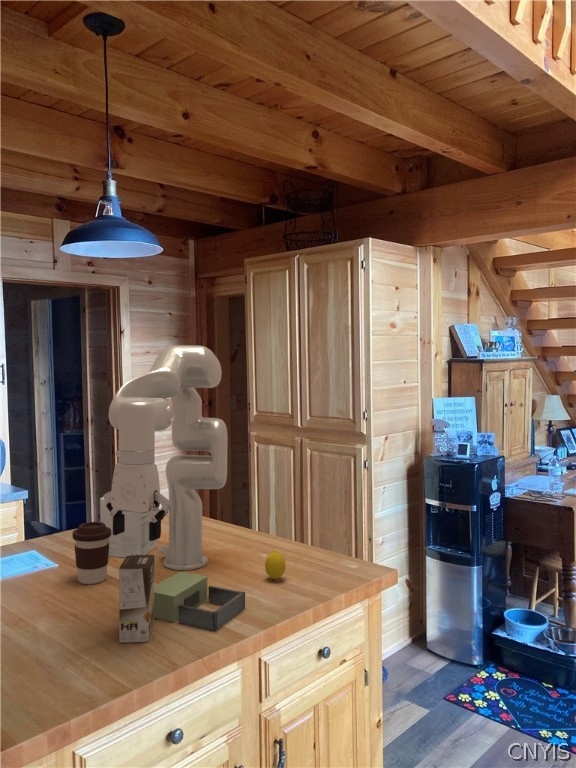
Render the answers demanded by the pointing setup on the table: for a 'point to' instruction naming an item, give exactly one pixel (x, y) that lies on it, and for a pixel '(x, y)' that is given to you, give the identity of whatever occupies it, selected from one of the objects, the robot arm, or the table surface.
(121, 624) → the coffee box
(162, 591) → the sage green box
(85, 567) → the coffee cup
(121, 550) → the supplement box
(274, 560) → the lemon
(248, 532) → the table surface
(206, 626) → the frame
